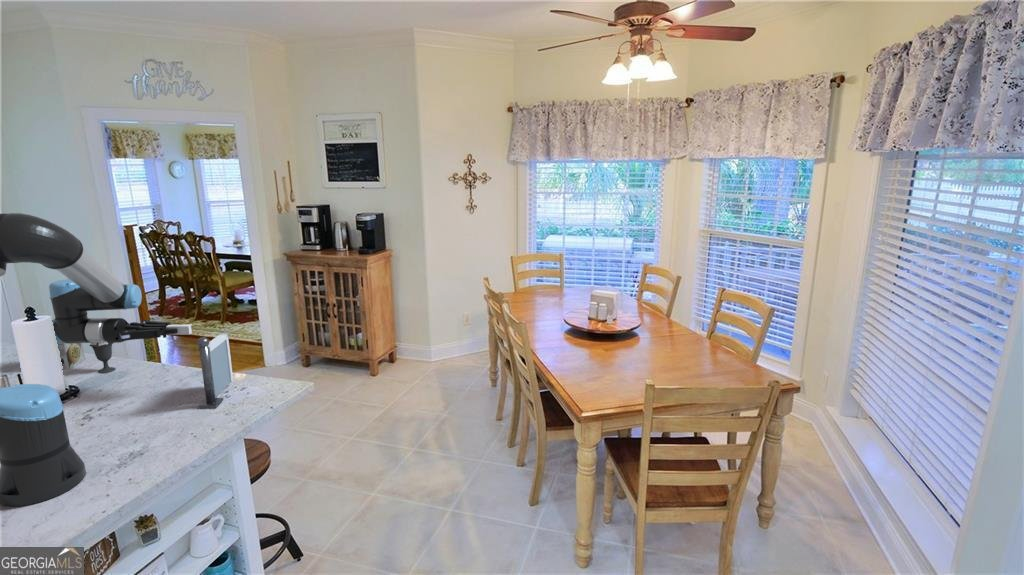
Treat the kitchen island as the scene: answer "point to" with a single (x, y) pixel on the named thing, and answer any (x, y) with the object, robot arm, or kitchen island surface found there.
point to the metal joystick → (207, 376)
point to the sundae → (103, 355)
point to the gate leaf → (220, 362)
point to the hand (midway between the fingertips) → (190, 329)
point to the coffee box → (71, 354)
